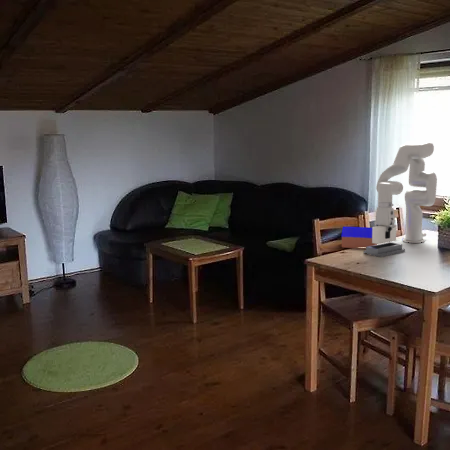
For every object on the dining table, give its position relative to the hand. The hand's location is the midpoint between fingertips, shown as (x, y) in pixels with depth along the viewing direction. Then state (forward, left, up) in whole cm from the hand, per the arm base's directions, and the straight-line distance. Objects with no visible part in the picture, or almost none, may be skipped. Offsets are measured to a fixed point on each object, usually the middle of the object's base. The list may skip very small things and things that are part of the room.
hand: (384, 237), depth 303 cm
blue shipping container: (-3, -21, -9) cm, 23 cm away
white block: (0, 0, -2) cm, 2 cm away
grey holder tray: (0, 0, -9) cm, 9 cm away
